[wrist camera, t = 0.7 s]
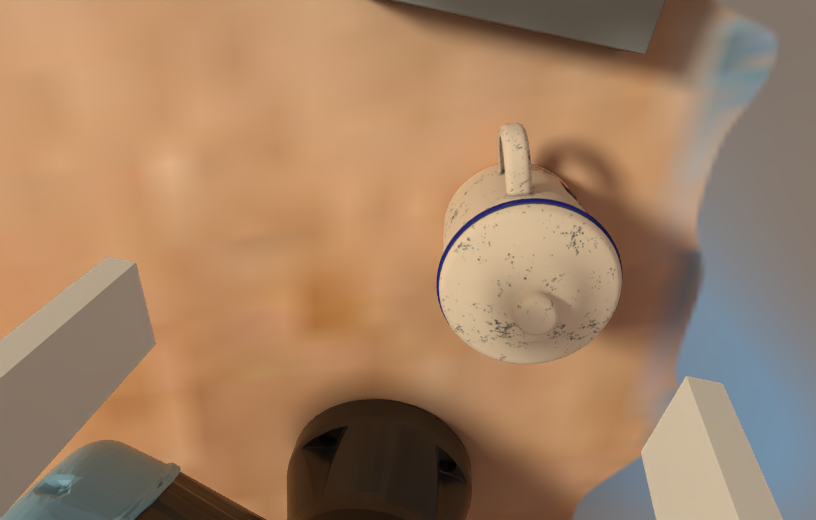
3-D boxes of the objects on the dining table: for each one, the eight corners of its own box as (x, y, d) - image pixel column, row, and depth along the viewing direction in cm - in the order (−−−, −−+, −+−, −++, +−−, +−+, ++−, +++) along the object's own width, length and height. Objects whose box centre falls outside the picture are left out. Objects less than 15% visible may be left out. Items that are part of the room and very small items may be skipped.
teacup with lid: (582, 281, 34) (640, 394, 23) (448, 292, 35) (446, 406, 25) (581, 97, 29) (654, 137, 19) (426, 118, 30) (412, 167, 20)
